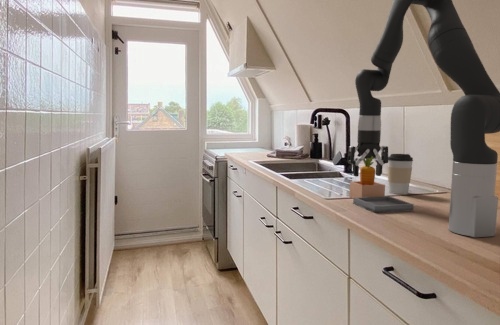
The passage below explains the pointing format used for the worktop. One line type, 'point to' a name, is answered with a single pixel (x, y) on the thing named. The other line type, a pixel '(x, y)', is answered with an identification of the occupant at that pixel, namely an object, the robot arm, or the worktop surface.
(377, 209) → the charcoal tray
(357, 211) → the worktop surface
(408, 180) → the coffee cup
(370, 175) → the carrot
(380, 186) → the terracotta open box
